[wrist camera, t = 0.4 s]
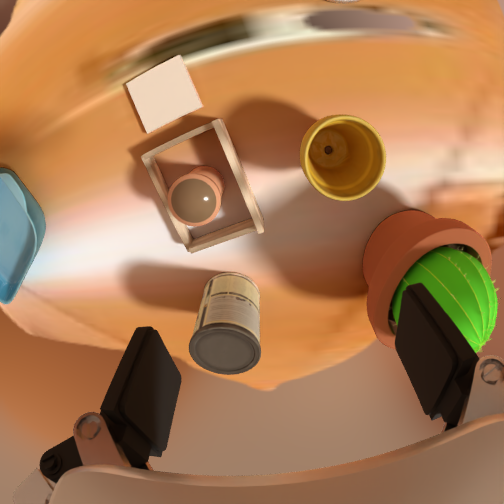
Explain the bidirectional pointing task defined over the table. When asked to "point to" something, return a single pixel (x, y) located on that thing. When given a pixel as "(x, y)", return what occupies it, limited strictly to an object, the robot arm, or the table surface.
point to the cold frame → (257, 220)
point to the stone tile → (164, 94)
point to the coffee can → (228, 325)
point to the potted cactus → (430, 273)
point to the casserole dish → (17, 233)
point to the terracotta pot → (196, 196)
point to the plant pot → (343, 157)
